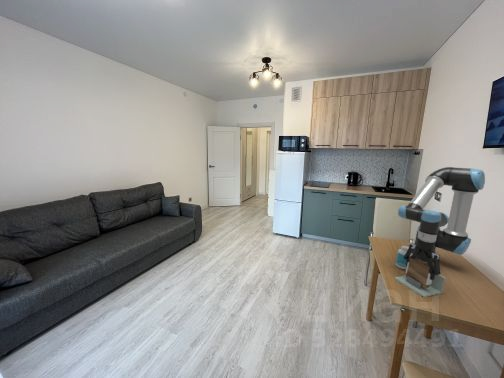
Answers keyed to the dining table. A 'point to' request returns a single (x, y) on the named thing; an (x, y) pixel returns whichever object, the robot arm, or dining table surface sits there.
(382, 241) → the dining table surface
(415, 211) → the robot arm
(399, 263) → the pill bottle
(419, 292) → the pale green l-shaped piece
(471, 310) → the dining table surface
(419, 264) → the door panel
